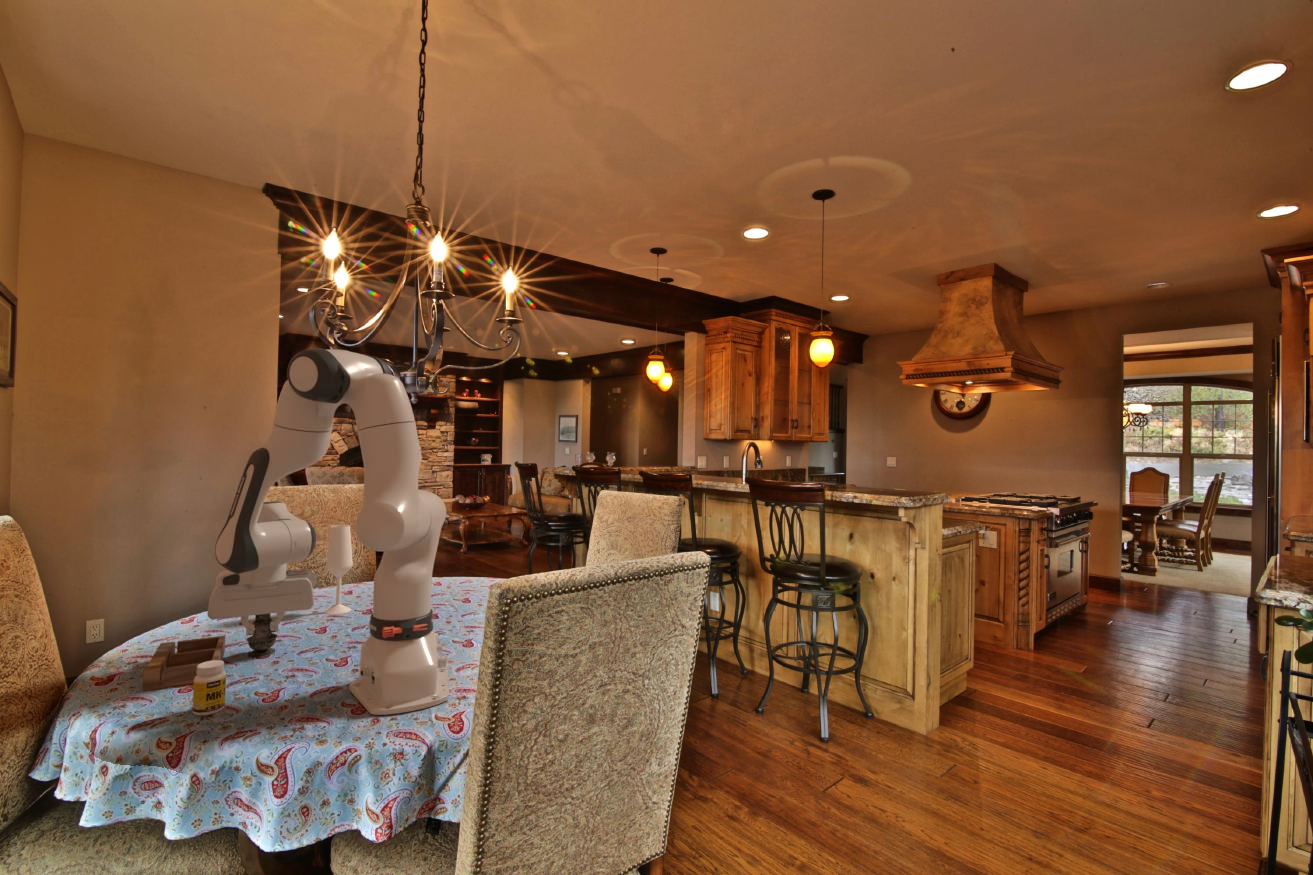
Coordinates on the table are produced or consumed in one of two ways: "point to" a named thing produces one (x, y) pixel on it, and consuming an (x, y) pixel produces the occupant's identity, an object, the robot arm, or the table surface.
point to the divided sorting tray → (181, 661)
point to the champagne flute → (339, 561)
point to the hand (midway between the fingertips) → (262, 633)
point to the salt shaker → (262, 637)
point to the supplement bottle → (209, 688)
